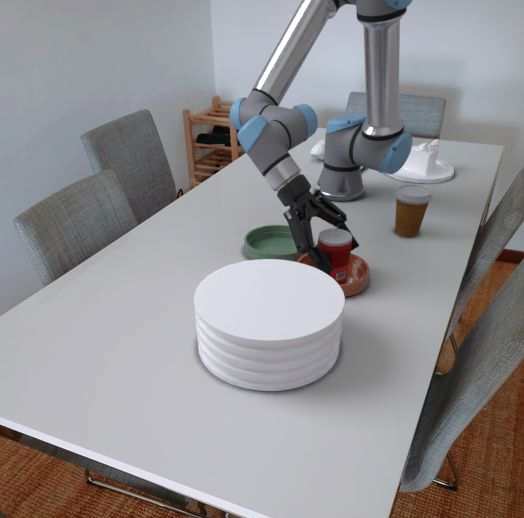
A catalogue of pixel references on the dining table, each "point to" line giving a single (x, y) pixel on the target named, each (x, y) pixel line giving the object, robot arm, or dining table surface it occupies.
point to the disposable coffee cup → (411, 209)
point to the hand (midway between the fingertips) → (342, 260)
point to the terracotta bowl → (356, 274)
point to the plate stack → (269, 323)
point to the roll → (318, 150)
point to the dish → (424, 166)
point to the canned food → (336, 251)
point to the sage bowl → (271, 243)
